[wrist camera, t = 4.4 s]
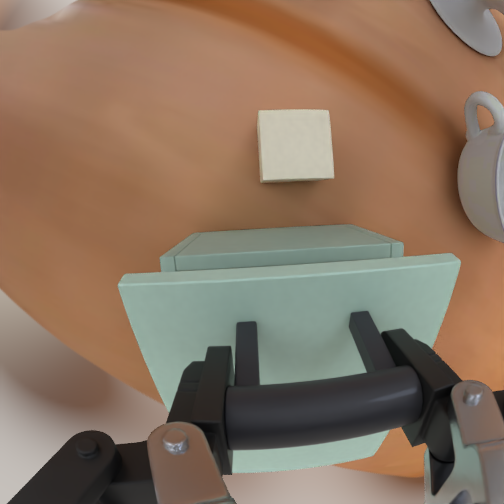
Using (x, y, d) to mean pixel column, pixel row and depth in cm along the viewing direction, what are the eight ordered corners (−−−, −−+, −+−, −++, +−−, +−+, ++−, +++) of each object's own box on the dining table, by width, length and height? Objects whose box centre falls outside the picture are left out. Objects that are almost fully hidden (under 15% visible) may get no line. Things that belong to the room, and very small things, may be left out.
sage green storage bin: (192, 232, 23) (159, 257, 14) (351, 224, 23) (404, 242, 14) (213, 395, 26) (202, 463, 17) (343, 385, 26) (370, 448, 17)
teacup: (517, 210, 22) (567, 219, 14) (460, 257, 23) (515, 279, 15) (475, 90, 20) (525, 73, 12) (408, 118, 21) (463, 97, 13)
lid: (124, 272, 10) (56, 388, 5) (451, 251, 10) (535, 335, 5) (201, 463, 17) (197, 525, 12) (371, 447, 17) (386, 506, 12)
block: (256, 125, 21) (258, 110, 17) (314, 124, 21) (328, 109, 17) (260, 182, 22) (262, 180, 18) (318, 180, 22) (334, 178, 18)
